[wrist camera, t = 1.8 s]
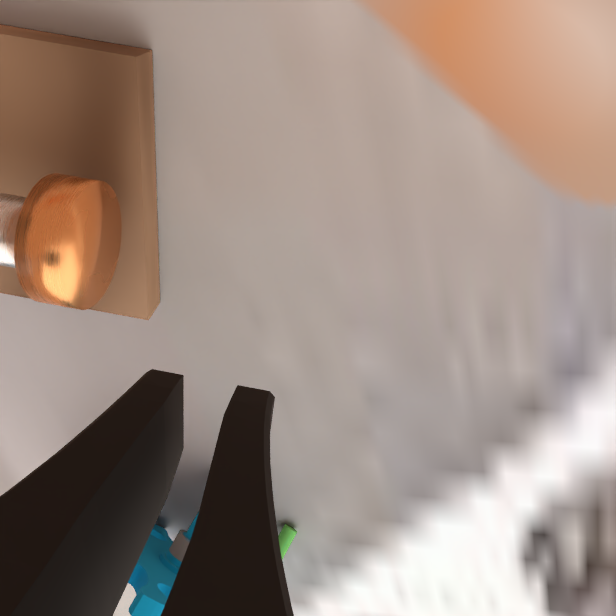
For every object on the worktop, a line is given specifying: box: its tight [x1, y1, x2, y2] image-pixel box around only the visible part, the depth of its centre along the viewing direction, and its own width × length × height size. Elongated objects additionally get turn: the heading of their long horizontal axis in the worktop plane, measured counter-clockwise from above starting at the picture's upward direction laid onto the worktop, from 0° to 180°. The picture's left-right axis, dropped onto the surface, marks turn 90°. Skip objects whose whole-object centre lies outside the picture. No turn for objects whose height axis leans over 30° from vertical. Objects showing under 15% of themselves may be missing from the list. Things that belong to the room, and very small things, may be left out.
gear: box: [128, 512, 297, 616], centre depth 25 cm, size 11×6×10 cm
